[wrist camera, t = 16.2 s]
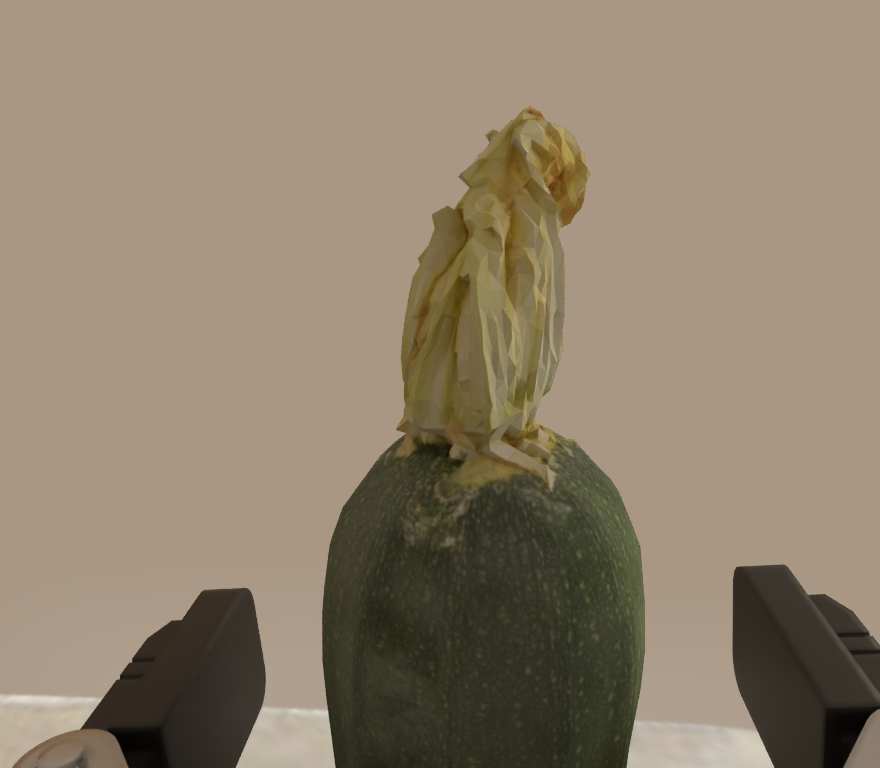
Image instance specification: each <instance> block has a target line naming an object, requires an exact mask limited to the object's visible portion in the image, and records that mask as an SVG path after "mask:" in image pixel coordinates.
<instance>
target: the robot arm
mask: <svg viewBox="0 0 880 768" xmlns="http://www.w3.org/2000/svg"><path fill="white" fill-rule="evenodd" d="M733 663H734V671H735V676H736V681H737V684H738V688H739V691H740V694H741V696H742V698H743V700H744V702H745V705H746V707H747V709H748V711H749V713H750V716H751V718H752V720H753V722H754V724H755V726H756V729H757V731H758V733H759V735H760V737H761V739H762V742H763V744H764V746H765V748H766V750H767V752H768V755H769V757H770V759H771V761H772V763H773V765H774V768H880V645H879V644H878V643H877V641H876V640H875V639H874V637H873V636H870V634H869V631H868V630H867V629H866V627H865V626H864V625H863V624H862V622H861V621H860V620H859V619H858V617H857V616H856V615H855V614H854V612H853V611H851V610H850V609H848V608H846V607H845V606H843V605H841V604H840V603H838V602H837V601H835V600H833V599H832V598H830V597H828V596H827V595H825V594H819V595H808V594H807V593H806V592H805V590H804V589H803V587H802V586H801V585H800V583H799V582H798V580H797V579H796V578H795V576H794V575H793V574H792V572H791V571H790V570H789V568H788V567H787V566H786V565H765V566H744V567H743V566H742V567H736V569H735V571H734V577H733ZM265 677H266V675H265V665H264V660H263V653H262V648H261V641H260V635H259V629H258V623H257V617H256V611H255V605H254V600H253V596H252V594H251V592H250V590H249V589H247V588H238V589H216V590H204V591H202V592H201V593H200V595H199V596H198V598H197V599H196V600H195V602H194V603H193V605H192V606H191V608H190V609H189V610H188V612H187V613H186V615H185V616H184V618H183V619H182V620H178V621H177V620H176V621H171V622H169V623H168V624H167V625H165V626H164V627H162V628H161V629H160V630H159V631H157V632H156V633H154V634H153V635H151V636H150V637H149V638H147V640H146V641H145V642H144V644H143V645H142V646H141V648H140V649H139V650H138V652H137V653H136V654H135V656H134V657H133V659H132V663H129V664H128V665H127V667H126V668H125V669H124V671H123V672H122V674H121V675H120V680H116V682H115V683H114V684H113V686H112V687H111V688H110V690H109V691H108V692H107V694H106V695H105V696H104V698H103V699H102V701H101V702H100V703H99V705H98V706H97V707H96V709H95V710H94V711H93V713H92V714H91V715H90V717H89V718H88V720H87V721H86V722H85V724H84V725H83V726H82V728H81V729H80V730H75V731H71V732H67V733H64V734H61V735H58V736H55V737H53V738H51V739H49V740H47V741H45V742H43V743H41V744H39V745H37V746H36V747H34V748H33V749H31V750H30V751H28V752H27V753H26V754H25V755H24V756H22V757H21V758H20V759H19V760H18V761H17V762H16V763H15V764H14V766H13V767H12V768H236V765H237V763H238V761H239V758H240V756H241V754H242V751H243V749H244V747H245V744H246V742H247V740H248V738H249V735H250V733H251V731H252V728H253V726H254V724H255V721H256V719H257V717H258V714H259V712H260V710H261V707H262V704H263V700H264V694H265V683H266V678H265Z"/></svg>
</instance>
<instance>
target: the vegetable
mask: <svg viewBox="0 0 880 768" xmlns="http://www.w3.org/2000/svg"><path fill="white" fill-rule="evenodd" d="M486 137H487V139H488V141H489V144H488V146H487V148H486V149H485V150H484V151H483V152H482V153H481V154H479V155H478V158H477V159H476V160H475V161H474V162H473V163H472V164H471V165H470V166H469V167H468V168H467V169H466V170H465V171H464V172H462V173H461V174H460V176H459V178H460V179H461V180H462V181H463V182H464V183H465V184H466V185H468V186H469V187H470V188H469V190H468V191H467V192H466V194H465V195H464V196H463V197H462V199H461V200H460V202H459V203H458V204H457V206H456V208H455V209H452V208H451V207H449V206H446V207H445V208H443V209H441V210H439V211H437V212H435V213H434V214H432V218H433V222H434V226H435V229H434V232H433V235H432V237H431V240H430V243H429V245H428V246H427V248H426V249H425V250H424V252H423V253H422V254H421V256H420V257H419V258H418V259H419V262H420V266H419V268H418V269H417V271H416V273H415V275H414V276H413V279H412V284H411V288H410V292H409V298H408V304H407V310H406V315H405V322H404V330H403V338H402V351H401V352H402V353H401V363H402V375H403V381H404V400H405V410H404V415H403V418H402V420H401V422H400V423H399V425H398V427H397V429H396V430H398V431H401V432H405V433H406V434H405V435H404V436H402V437H401V438H400V439H398V440H397V441H396V442H395V443H394V444H393V445H391V446H390V447H389V448H388V449H387V450H386V451H385V452H384V453H383V454H382V455H381V456H380V457H379V458H378V460H377V461H376V463H375V464H374V465H373V467H372V468H371V469H370V471H369V472H368V474H367V475H366V476H365V478H364V479H363V480H362V482H361V483H360V485H359V486H358V487H357V489H356V490H355V492H354V493H353V494H352V496H351V497H350V498H349V500H348V501H347V502H346V504H345V505H344V507H343V508H342V512H341V514H340V517H339V519H338V522H337V525H336V528H335V531H334V533H333V536H332V539H331V543H330V548H329V555H328V563H327V570H326V578H325V586H324V598H323V611H322V622H323V623H322V627H323V628H322V635H323V637H322V643H323V669H324V679H325V688H326V697H327V705H328V713H329V721H330V728H331V736H332V743H333V751H334V758H335V766H336V768H626V766H627V759H628V752H629V746H630V740H631V735H632V730H633V725H634V720H635V714H636V709H637V704H638V699H639V694H640V688H641V679H642V671H643V663H644V654H645V600H644V588H643V575H642V563H641V550H640V545H639V542H638V540H637V537H636V534H635V531H634V528H633V526H632V523H631V521H630V518H629V516H628V513H627V511H626V508H625V506H624V503H623V501H622V499H621V496H620V493H619V491H618V490H617V488H616V487H615V485H614V484H613V482H612V481H611V479H610V478H609V477H608V476H607V475H606V474H605V473H604V472H603V471H602V470H601V469H600V468H599V467H598V466H597V465H596V464H595V463H594V462H593V461H592V460H591V459H590V458H589V457H588V455H587V454H586V453H585V452H584V451H583V450H582V449H581V448H580V446H579V445H578V444H577V442H576V441H575V440H572V439H566V438H564V437H562V436H560V435H559V434H557V433H555V432H553V431H551V430H550V429H548V428H545V427H543V426H541V425H539V424H537V423H536V422H534V418H535V414H536V411H537V408H538V406H539V403H540V401H541V398H542V396H544V395H545V394H546V393H547V392H548V391H550V389H551V386H552V383H553V380H554V377H555V374H556V371H557V368H558V364H559V361H560V358H561V355H562V352H563V340H562V339H563V337H562V329H563V322H564V285H565V284H564V283H565V268H564V252H563V249H562V246H561V243H560V241H559V237H558V233H559V229H560V228H561V227H563V226H565V225H567V224H570V223H571V221H572V219H573V217H574V215H575V214H576V213H577V212H578V211H579V210H580V209H581V207H582V204H583V201H584V193H585V188H586V182H587V180H588V178H589V176H590V173H589V171H588V169H587V167H586V165H585V154H584V153H583V152H582V151H581V150H580V148H579V146H578V144H577V141H576V139H575V137H574V136H573V135H572V134H571V133H570V132H568V131H567V130H566V129H565V128H564V127H562V126H560V125H556V124H554V123H550V122H548V121H546V120H545V119H544V118H543V116H542V114H541V113H540V111H538V110H536V109H534V108H533V107H531V106H529V107H527V108H525V109H524V110H523V111H522V112H521V113H520V114H519V115H518V116H517V118H516V119H514V120H511V121H510V122H509V123H508V124H507V125H506V126H505V127H504V129H502V131H501V132H500V133H499V132H497V131H496V130H494V129H493V130H491V131H490V132H489V133H487V134H486ZM547 187H548V188H549V191H550V193H551V194H550V195H549V193H548V190H547Z"/></svg>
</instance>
